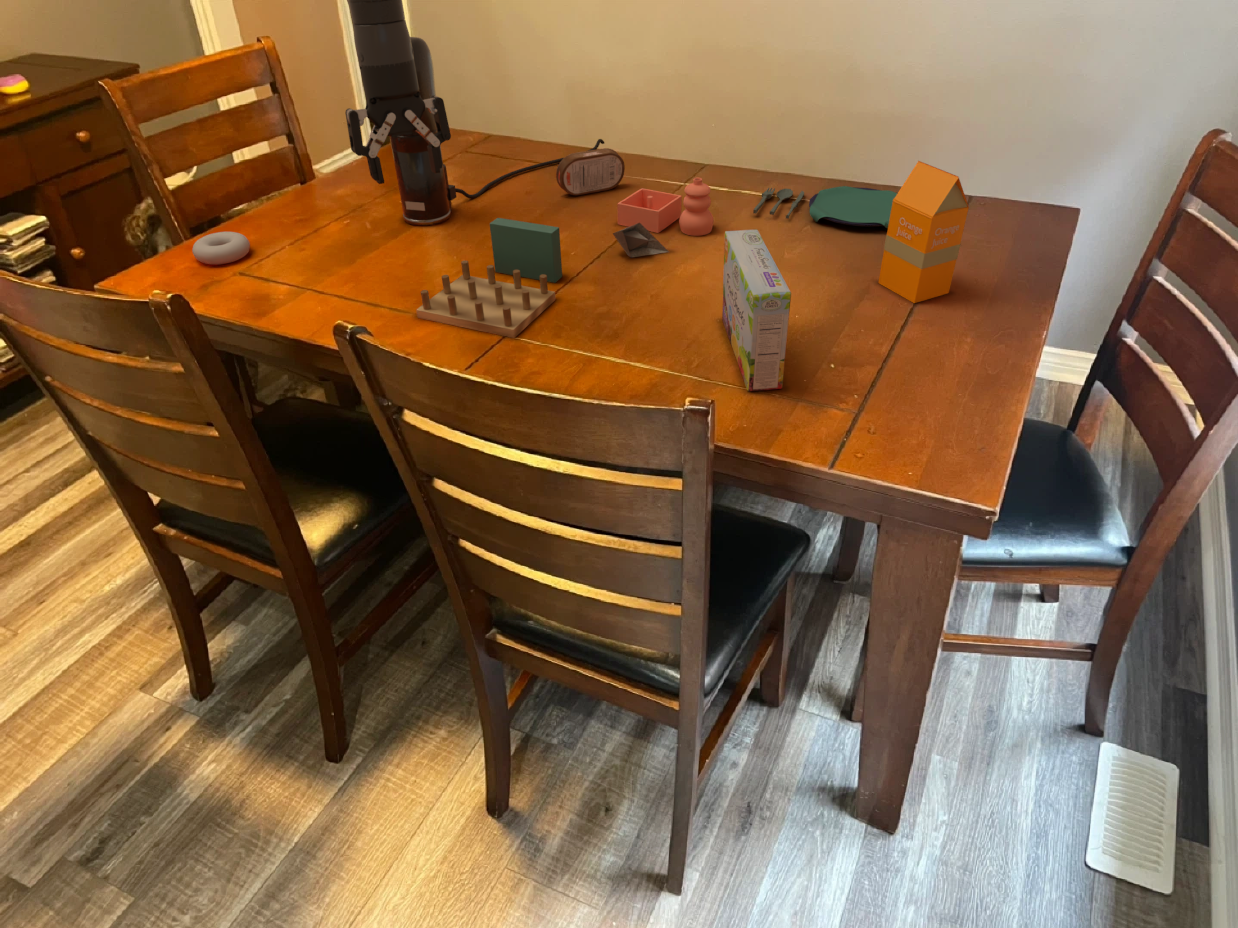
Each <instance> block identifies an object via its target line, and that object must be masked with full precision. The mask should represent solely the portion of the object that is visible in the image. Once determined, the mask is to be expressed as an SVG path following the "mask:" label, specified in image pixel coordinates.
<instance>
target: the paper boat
mask: <svg viewBox="0 0 1238 928" xmlns="http://www.w3.org/2000/svg"><path fill="white" fill-rule="evenodd" d="M612 235H613V236H614V238H615V240H616V241H617V242H618V243H619V245H620V246H621V248H622V249H623V251H624V252H625V254H626V255H627V256H628V257H629V258H639V257H645V256H651V255H658V254H665V253H670V251H669V250H668V249H667V248H666V247H665V246H664V245H663V244H662V242H660V241H659V240H658V239H657V238H656V237H655V236H654V235H653V234H652V232H651V231H648V230H647V229H646V228H645V227H644V226H643V225H642V224H641V223H638V224H635V225H633V226H630V227H625V228H622V229H620V230H618V231H615V232H612Z"/></svg>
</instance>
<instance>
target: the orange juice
mask: <svg viewBox="0 0 1238 928" xmlns="http://www.w3.org/2000/svg"><path fill="white" fill-rule="evenodd" d="M897 193H898V194H897V195H896V197H895V198H894V199H893V203H892V208H891V214H890V220H889V225H888V228H887V232H886V235H885V241H884V245H883V254H882V259H881V265H880V272H879V276H878V282H877V283H878V284H879V285H881V286H883V287H885V288H886V289H888V290H889V291H891V292H893V293H895V294H897V295H898V296H901V297H902V298H903V299H906V300H907V301H909V302H911V303H913V304H918V303H920V302H923V301H927V300H930V299H935V298H937V297H940V296H943V295H944V296H945V295H946V294H949V293H950V291H951V290H950V289H951V285H952V280H953V276H954V273H955V267H956V263H957V260H958V256H959V253H960V249H961V242H962V238H963V234H964V230H965V226H966V221H967V218H968V217H967V216H968V212H969V209H970V206H969V203H968V200H967V197H966V194H965V191H964V189H963V186H962V182H961V180H960V177H959V176H958V175H956V174H953V173H951V172H948V171H947V170H946V171H945V170H943V169H940V168H938V167H936V166H933V165H931V164H928V163H925V162H922V161H921V160H917V162H916V164H915V166H914V167H913V168H912V170H911V172H910V173H909V175H908V177H907V178H906V180H905V181H904V183H903V184H902V186H901V188H900V189H899V190H898V192H897Z"/></svg>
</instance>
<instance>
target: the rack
mask: <svg viewBox="0 0 1238 928" xmlns="http://www.w3.org/2000/svg"><path fill="white" fill-rule="evenodd" d="M460 264H461V273H462V275H460V276H459V277H457V278H456V279H455V280H453V281H452V282H451V281H450V276H449V274H443V275H441V282H442V290H440V291H439V292H438V293H436V294H435V295H434V296H432V297H431V298H430V293H429V290H428V289H422V290H421V291H420V296H421V302H422V304H421V305H420V306H419V307H418V308H416V309H415V311H416V317H417V318H418V319H421V320H427V321H431V322H436V323H439V324H444V325H445V324H446V325H450V326H456V327H460V328H465V329H469V330H475V331H479V332H483V333H489V334H492V335H493V334H494V335H499V336H504V337H508V338H512V339H513V338H514V339H515V338H516V337H518V335H519V334H521V333H522V332H523V331H524V330H525V329H526V328H528V326H529V325H530V324H531V323H533V322H534V321H535V319H537V318H538V317H539V316H540V315H541V314H542V313H543V312H544V311H545V310H547V308H549V306H551V304H553V303H555V301H556V291H554V290H549V288H548V287H549V286H548V285H549V284H548V282H547V275H544V274H542V275H540V276H539V277H540V280H539V288H536V287H533V286H532V287H531V286H527V285H526V286H525V285H522V277H521V276H520V270H513V275H512V278H513V279H512V280H513V283H510V282H504V281H500V280H496V274H495V273H496V272H495V265H494V264H489V265H487V266H486V273H487V278H484V277H478V276H472V275H471V272H470V265H469V261H468V260H465V259H464V260H461V262H460Z"/></svg>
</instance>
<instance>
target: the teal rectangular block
mask: <svg viewBox="0 0 1238 928" xmlns="http://www.w3.org/2000/svg"><path fill="white" fill-rule="evenodd" d="M489 231H490V238H491V248H492V257H493V266H494V272H495V273H498V274H504V275H508V276H513V270H520V276H521V278H526V279H531V280H536V281H540V277H539V276H540V275H542V274H544V275H547V283H554V284H556V283H557V282H558V281H559V280H561V278H562V277H563V265H562V263H563V262H562V250H561V249H562V248H561V236H560V235H561V234H560V233H561V232H560V227H559V226H553V225H547V224H542V223H541V224H540V223H534V222H529V221H528V222H527V221H522V220H515V219H510V218H509V219H508V218H502V217H497V218H495V219H494V220H492V221H490V222H489Z"/></svg>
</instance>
